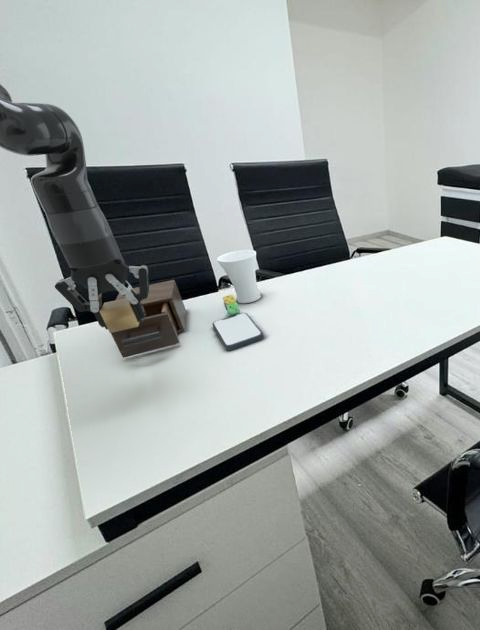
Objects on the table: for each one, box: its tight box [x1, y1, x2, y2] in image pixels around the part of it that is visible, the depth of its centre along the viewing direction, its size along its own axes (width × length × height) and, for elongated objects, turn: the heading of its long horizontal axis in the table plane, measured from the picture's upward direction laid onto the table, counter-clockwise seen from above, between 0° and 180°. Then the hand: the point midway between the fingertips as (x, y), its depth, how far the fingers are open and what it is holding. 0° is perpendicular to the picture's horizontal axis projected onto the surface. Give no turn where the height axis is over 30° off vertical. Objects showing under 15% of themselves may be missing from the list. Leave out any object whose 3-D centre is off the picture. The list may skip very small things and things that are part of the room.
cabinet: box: [114, 279, 187, 334], centre depth 100 cm, size 15×13×10 cm
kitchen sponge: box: [222, 294, 241, 317], centre depth 103 cm, size 8×3×6 cm, turn 34°
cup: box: [216, 249, 262, 304], centre depth 112 cm, size 10×10×14 cm
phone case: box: [211, 312, 264, 351], centre depth 96 cm, size 9×2×16 cm
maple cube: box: [100, 298, 140, 334], centre depth 73 cm, size 4×4×4 cm
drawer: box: [110, 301, 181, 358], centre depth 91 cm, size 18×11×8 cm, turn 27°
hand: (125, 323), depth 73 cm, fingers closed on maple cube, 4 cm apart
